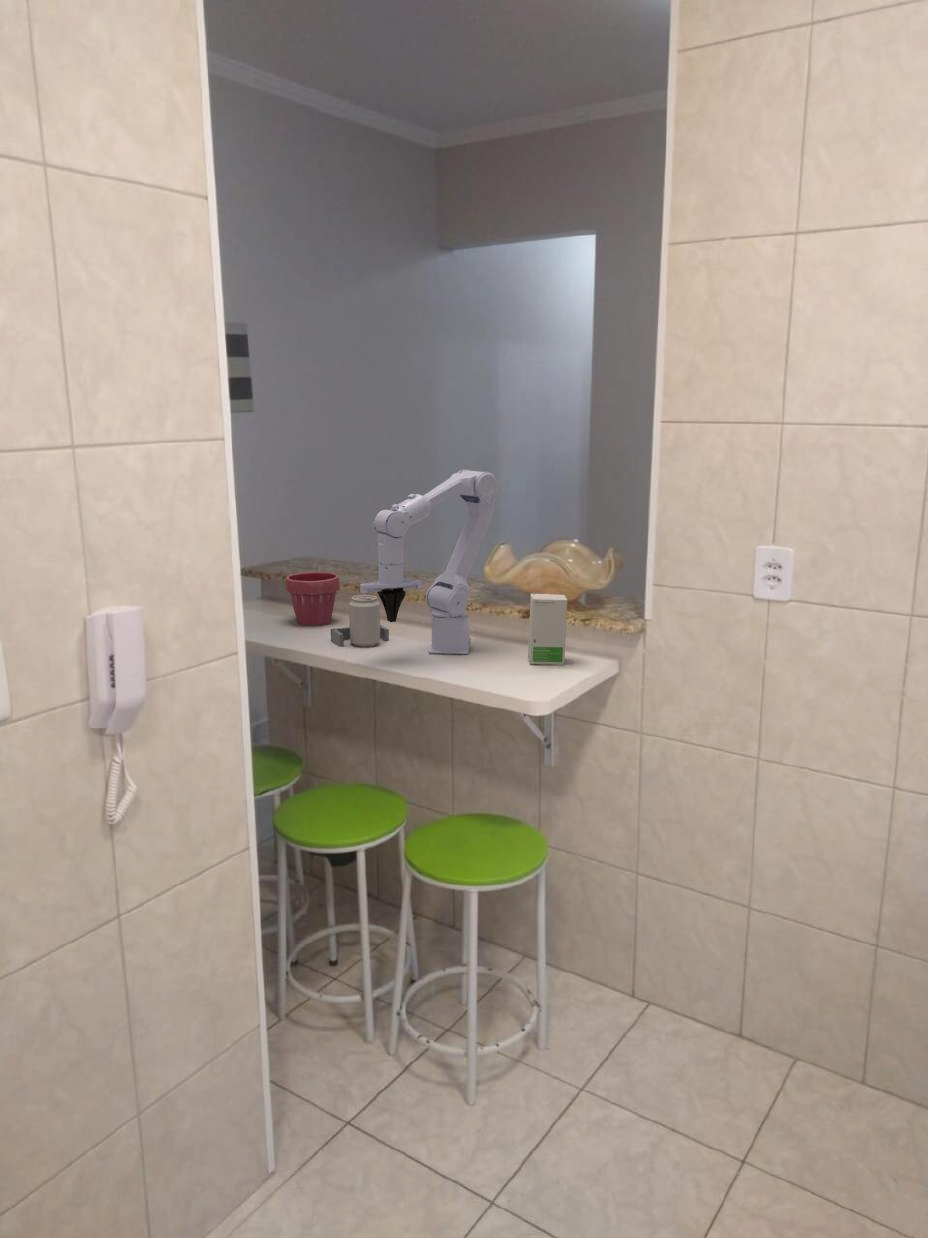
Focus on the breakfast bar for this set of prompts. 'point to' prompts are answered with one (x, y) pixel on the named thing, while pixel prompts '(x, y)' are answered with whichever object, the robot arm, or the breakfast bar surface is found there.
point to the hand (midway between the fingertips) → (391, 621)
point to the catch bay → (344, 634)
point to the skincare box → (547, 629)
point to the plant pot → (313, 596)
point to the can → (364, 620)
